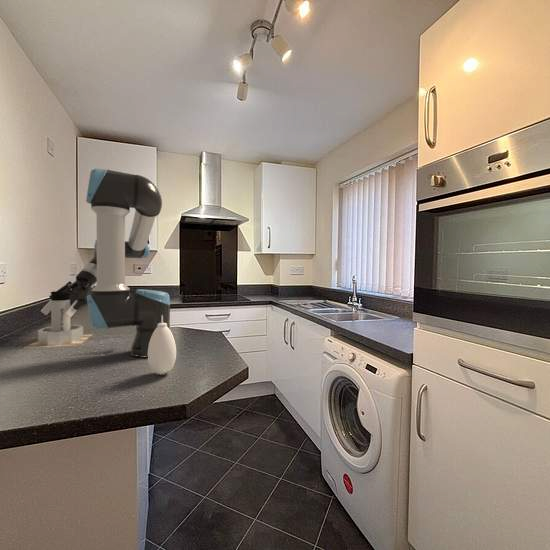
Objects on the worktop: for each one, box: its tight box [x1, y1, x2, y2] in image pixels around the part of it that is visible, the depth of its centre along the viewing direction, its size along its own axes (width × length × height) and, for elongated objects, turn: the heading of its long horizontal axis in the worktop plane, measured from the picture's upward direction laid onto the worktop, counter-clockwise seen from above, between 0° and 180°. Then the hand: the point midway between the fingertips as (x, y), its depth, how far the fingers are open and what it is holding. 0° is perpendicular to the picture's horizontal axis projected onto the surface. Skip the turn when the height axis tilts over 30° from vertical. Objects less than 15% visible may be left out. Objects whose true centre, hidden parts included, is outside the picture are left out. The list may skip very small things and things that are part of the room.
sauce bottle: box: [147, 315, 177, 374], centre depth 88 cm, size 8×8×18 cm
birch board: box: [23, 333, 94, 349], centre depth 120 cm, size 18×18×1 cm
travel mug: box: [50, 290, 71, 332], centre depth 120 cm, size 6×7×20 cm
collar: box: [37, 324, 84, 346], centre depth 120 cm, size 14×14×5 cm
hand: (55, 314), depth 117 cm, fingers open, 13 cm apart
